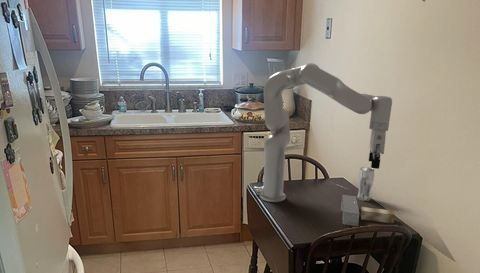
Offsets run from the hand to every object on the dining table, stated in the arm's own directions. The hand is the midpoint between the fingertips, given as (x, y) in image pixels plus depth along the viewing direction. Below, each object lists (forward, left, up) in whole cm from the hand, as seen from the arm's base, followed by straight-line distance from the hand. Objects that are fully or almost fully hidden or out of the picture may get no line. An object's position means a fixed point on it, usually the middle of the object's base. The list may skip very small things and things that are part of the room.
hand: (373, 164), depth 160 cm
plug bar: (+3, -5, -23) cm, 23 cm away
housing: (-8, -5, -23) cm, 25 cm away
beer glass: (0, +17, -23) cm, 28 cm away
